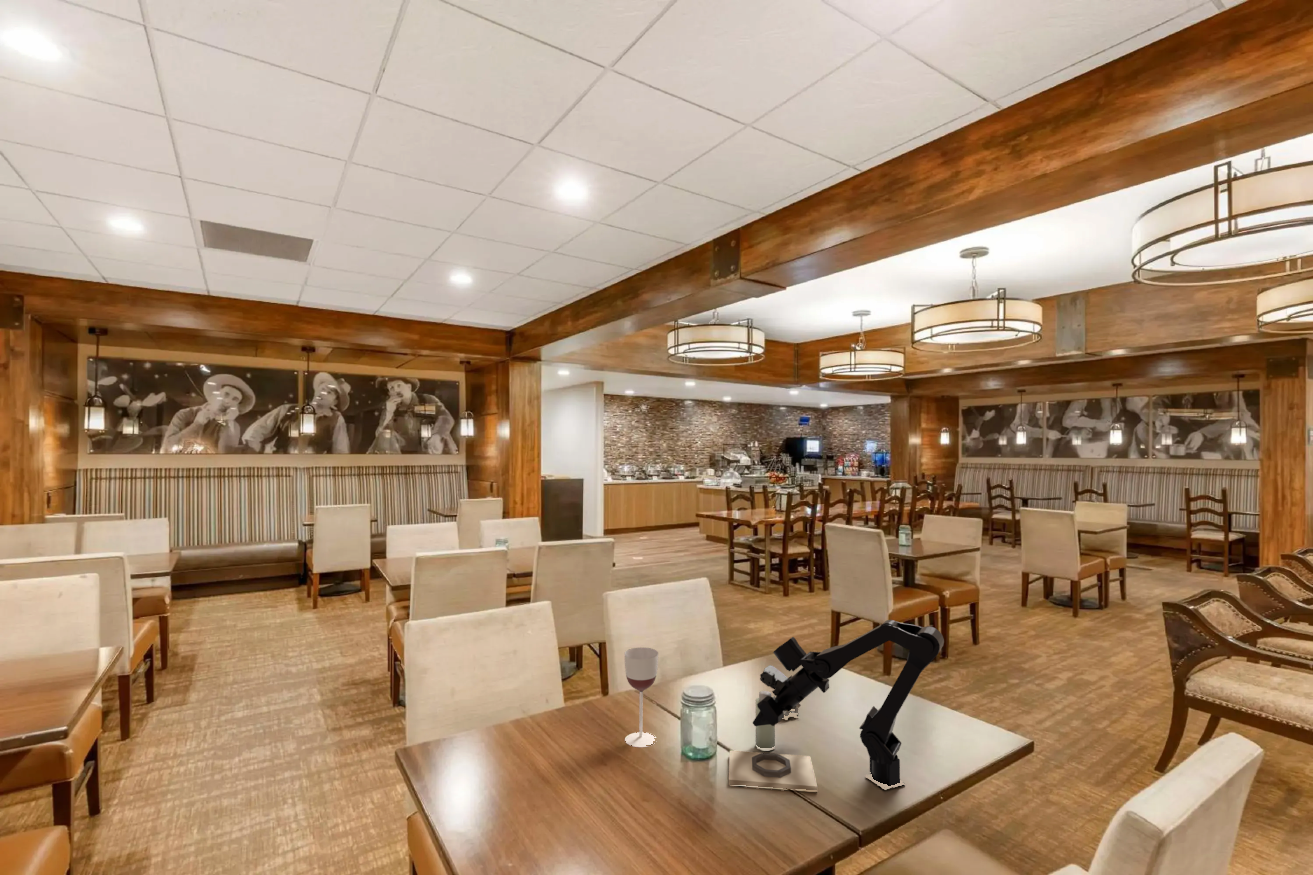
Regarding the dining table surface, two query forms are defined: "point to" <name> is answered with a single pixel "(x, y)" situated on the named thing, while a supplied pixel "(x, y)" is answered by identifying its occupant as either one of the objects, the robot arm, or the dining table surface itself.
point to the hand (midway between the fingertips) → (760, 718)
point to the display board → (771, 770)
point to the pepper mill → (764, 727)
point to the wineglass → (641, 686)
